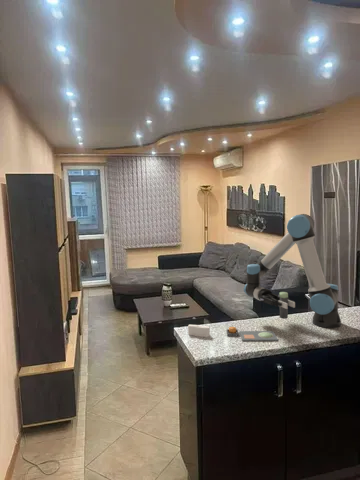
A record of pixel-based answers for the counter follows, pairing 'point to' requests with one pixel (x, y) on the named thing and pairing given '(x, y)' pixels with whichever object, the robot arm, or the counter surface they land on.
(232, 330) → the button
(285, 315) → the marker
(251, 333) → the board
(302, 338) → the counter surface
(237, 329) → the button housing
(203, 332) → the white block piece
